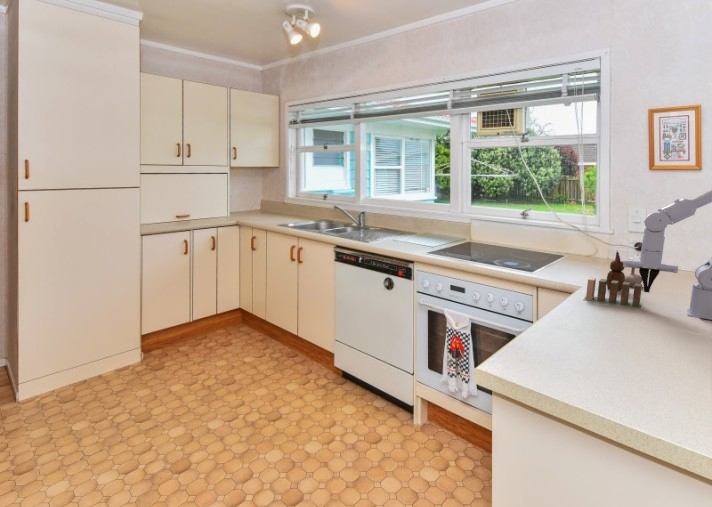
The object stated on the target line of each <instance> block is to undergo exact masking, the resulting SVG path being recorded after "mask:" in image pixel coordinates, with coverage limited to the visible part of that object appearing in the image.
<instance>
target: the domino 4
mask: <svg viewBox="0 0 712 507" xmlns="http://www.w3.org/2000/svg"><path fill="white" fill-rule="evenodd" d="M642 286H643V283H641V284H638V283H636V284H635V286H634V287H633V295H632V301H631V302H632V307H639V305H640V303H641V296H642V288H643V287H642Z"/></svg>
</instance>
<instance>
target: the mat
mask: <svg viewBox="0 0 712 507" xmlns="http://www.w3.org/2000/svg"><path fill="white" fill-rule="evenodd" d="M583 301H586V302H593V303H598V304H604V305H609V306H610V305H611V306H616V307H617V306H618V307H622V308H630V309H636V310H641V308H642V306H643V303H641V302H640V305H639V307H632V302H633V301H628V304H627V306H625V305H620V301H621V299H616V302H615V304H613V303H608V302H609V297H608V298H606V297H605V300H604V301H603V302H600V301H597V296H595V295H594V298H593V299H592V300H587V299H586V296H585V297H584V299H583Z"/></svg>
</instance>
